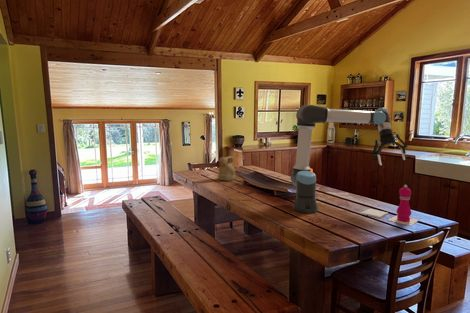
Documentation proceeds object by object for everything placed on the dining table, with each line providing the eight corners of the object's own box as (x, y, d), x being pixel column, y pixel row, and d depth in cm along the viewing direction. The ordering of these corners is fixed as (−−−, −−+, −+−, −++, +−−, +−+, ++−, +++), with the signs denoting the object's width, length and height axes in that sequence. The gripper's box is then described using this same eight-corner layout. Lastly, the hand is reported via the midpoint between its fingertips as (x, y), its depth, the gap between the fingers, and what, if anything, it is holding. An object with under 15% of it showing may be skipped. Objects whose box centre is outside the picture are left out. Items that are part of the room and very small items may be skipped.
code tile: (411, 225, 169) (411, 225, 169) (387, 220, 178) (387, 220, 178) (418, 220, 177) (418, 220, 177) (396, 215, 186) (396, 215, 186)
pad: (380, 218, 181) (380, 216, 181) (361, 214, 189) (361, 212, 189) (387, 214, 189) (387, 212, 189) (369, 210, 197) (369, 208, 197)
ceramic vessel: (213, 180, 289) (213, 152, 286) (226, 176, 305) (226, 150, 302) (228, 182, 279) (228, 154, 276) (241, 178, 295) (241, 151, 292)
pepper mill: (393, 218, 181) (395, 183, 178) (405, 217, 181) (407, 183, 179) (401, 222, 174) (403, 186, 171) (413, 222, 174) (416, 186, 172)
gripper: (408, 126, 198) (416, 158, 189) (367, 138, 213) (373, 168, 204) (404, 122, 193) (412, 154, 184) (363, 134, 207) (369, 165, 199)
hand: (392, 162), depth 194 cm, fingers open, 13 cm apart
